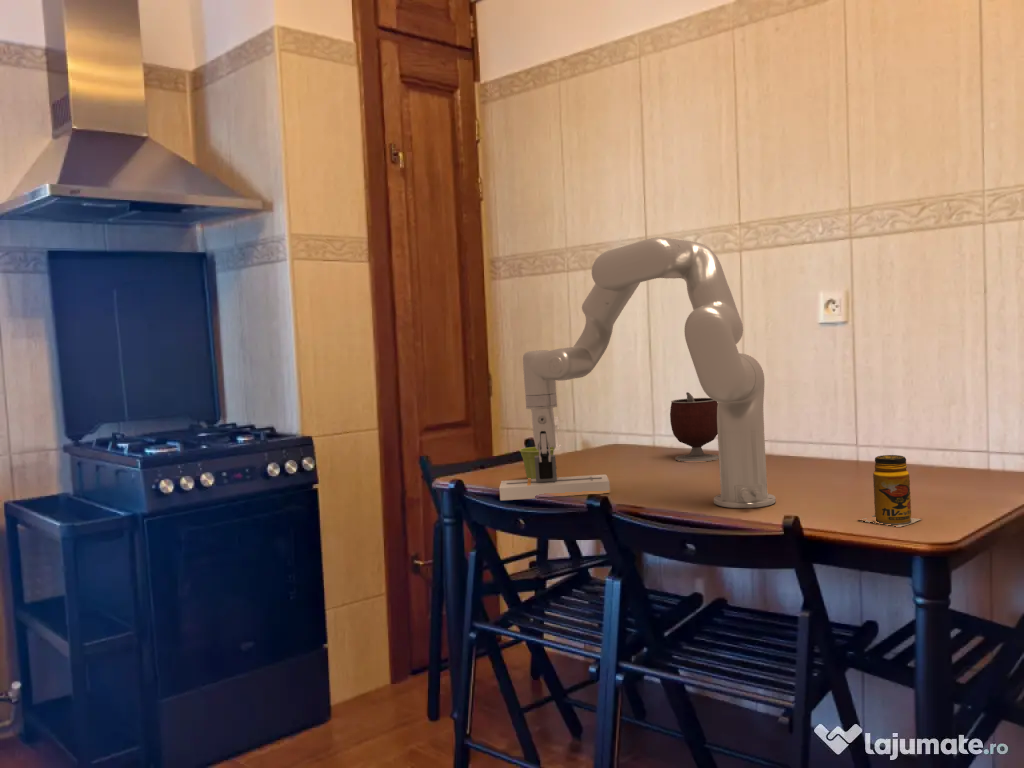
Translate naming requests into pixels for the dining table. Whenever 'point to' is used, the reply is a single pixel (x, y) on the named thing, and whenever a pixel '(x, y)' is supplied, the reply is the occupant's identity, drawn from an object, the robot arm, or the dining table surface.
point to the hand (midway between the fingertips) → (546, 476)
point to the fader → (552, 469)
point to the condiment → (892, 491)
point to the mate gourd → (694, 425)
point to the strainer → (558, 446)
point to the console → (552, 486)
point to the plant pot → (531, 460)
